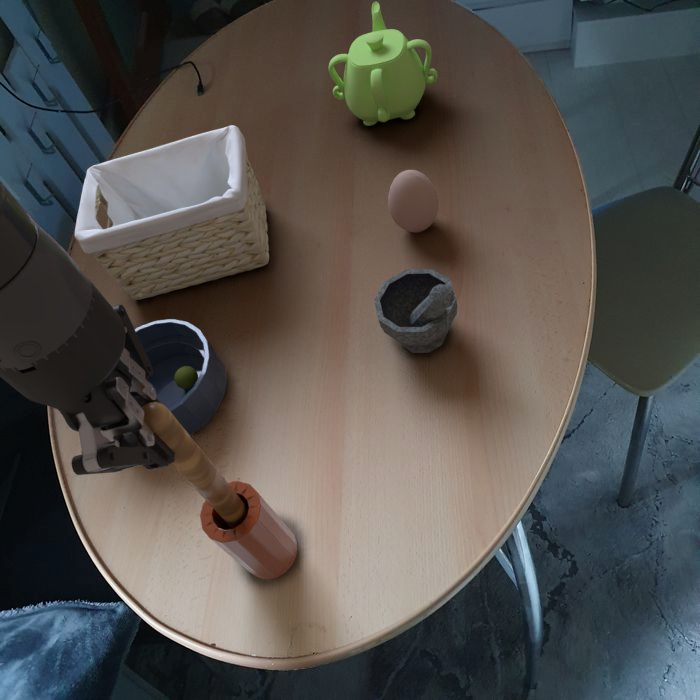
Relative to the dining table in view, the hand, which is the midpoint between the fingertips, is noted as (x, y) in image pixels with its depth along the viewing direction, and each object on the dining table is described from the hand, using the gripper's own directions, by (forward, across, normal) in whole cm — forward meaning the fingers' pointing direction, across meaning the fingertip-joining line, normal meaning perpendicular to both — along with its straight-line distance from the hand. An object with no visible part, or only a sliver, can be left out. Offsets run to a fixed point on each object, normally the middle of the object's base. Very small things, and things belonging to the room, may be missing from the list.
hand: (163, 444), depth 53 cm
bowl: (+26, -24, -12) cm, 37 cm away
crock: (+26, 0, 0) cm, 26 cm away
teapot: (+26, -72, +27) cm, 81 cm away
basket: (+26, -49, -7) cm, 56 cm away
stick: (+17, 0, 0) cm, 17 cm away
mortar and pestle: (+26, -23, +22) cm, 41 cm away
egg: (+26, -42, +25) cm, 56 cm away
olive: (+24, -25, -9) cm, 35 cm away
